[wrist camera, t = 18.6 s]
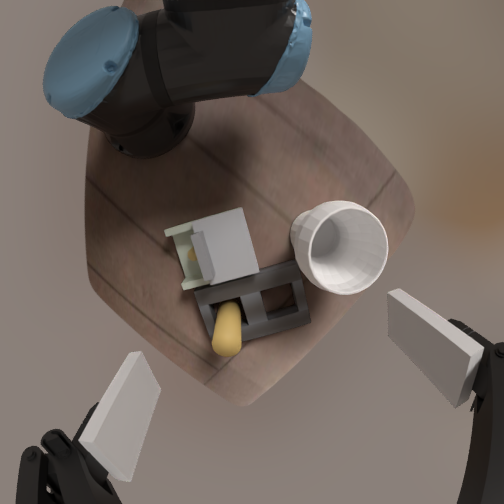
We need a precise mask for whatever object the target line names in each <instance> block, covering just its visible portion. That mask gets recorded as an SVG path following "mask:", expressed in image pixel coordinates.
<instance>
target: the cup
mask: <svg viewBox="0 0 504 504" xmlns="http://www.w3.org/2000/svg"><path fill="white" fill-rule="evenodd" d="M290 239H291V243H292V245H293V248H294V251H295V258H296V261H297V263H298V265H299V268H300V270H301V271H302V272H303V273H304V274H305V276H306V277H307V278H308V279H309V280H310V282H311V283H313V284H314V285H316V286H317V287H318V288H320V289H323V290H326V291H329V292H332V293H336V294H341V295H350V294H354V293H358V292H360V291H362V290H364V289H366V288H368V287H369V286H370V285H371V284H372V283H373V282H374V281H376V279H377V278H378V277H379V275H380V274H381V272H382V271H383V268H384V266H385V263H386V261H387V255H388V239H387V235H386V232H385V229H384V227H383V226H382V224H381V222H380V221H379V219H378V218H377V217H375V216H374V215H373V214H372V213H371V212H370V211H368V210H367V209H365V208H364V207H362V206H360V205H358V204H356V203H354V202H348V201H331V202H325V203H323V204H321V205H318V206H316V207H315V208H313V209H312V210H308V211H306V212H303V213H301V214H300V215H299V216H298V217H297V218H296V219H295V221H294V222H293V224H292V227H291V230H290Z"/></svg>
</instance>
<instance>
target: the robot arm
mask: <svg viewBox="0 0 504 504" xmlns="http://www.w3.org/2000/svg"><path fill="white" fill-rule="evenodd" d="M163 4H164V9H160V10H156V11H153V12H149V13H145V14H142V15H138V16H137V15H135V13H134V12H133V11H131V10H128V9H127V8H125V7H121V8H119V7H118V6H109V7H105V8H101V9H99V10H96V11H94V12H92V13H90V14H89V15H87V16H85V17H84V18H82V19H81V20H80V21H78V22H77V23H76V24H75V25H73V26H72V27H71V28H70V29H69V30H68V31H67V32H66V33H65V35H64V36H63V37H62V38H61V40H60V42H59V43H58V44H57V45H56V47H55V48H54V50H53V52H52V54H51V55H50V57H49V60H48V62H47V65H46V68H45V72H44V78H43V91H44V95H45V97H46V100H47V102H48V103H49V104H50V105H51V106H52V107H53V108H55V109H57V110H58V111H60V112H61V113H63V115H64V116H65V117H67V118H72V119H76V120H78V121H80V122H83V123H85V124H88V125H90V126H92V127H94V128H96V129H99V130H101V131H103V132H104V133H105V135H106V137H107V139H108V141H109V142H110V144H111V145H112V146H113V147H114V148H115V149H116V150H118V151H119V152H121V153H123V154H125V155H128V156H130V157H134V158H142V159H143V158H152V157H156V156H159V155H162V154H164V153H166V152H168V151H169V150H171V149H172V148H174V147H175V146H176V145H177V144H178V143H179V142H180V141H181V140H182V139H183V138H184V137H185V135H186V134H187V132H188V131H189V129H190V127H191V125H192V122H193V119H194V114H195V102H199V101H205V100H212V99H219V98H227V97H235V96H244V95H247V96H248V97H255V96H258V95H260V94H266V93H276V92H283V91H286V90H288V89H289V88H290V87H293V86H294V85H295V84H296V83H297V82H298V80H299V79H300V77H301V76H302V74H303V72H304V70H305V67H306V64H307V61H308V58H309V54H310V49H311V42H312V29H311V28H310V24H311V20H312V18H311V13H310V9H309V7H308V5H307V3H306V2H305V1H304V0H163ZM387 298H388V336H389V337H390V338H391V339H392V341H393V342H395V344H396V345H397V346H398V347H399V348H400V349H401V350H402V351H403V352H404V353H405V354H406V355H407V356H408V357H409V358H410V359H411V360H412V362H413V363H414V364H415V365H416V366H417V367H418V368H419V369H420V370H421V371H422V372H423V373H424V374H425V375H426V376H427V378H429V380H430V381H431V382H432V383H433V384H434V385H435V386H436V387H437V389H438V390H439V391H440V392H441V393H442V394H443V395H444V396H445V397H446V399H447V400H448V401H449V402H450V403H451V404H452V405H453V406H454V408H457V407H458V406H460V405H461V404H463V403H464V402H466V401H467V400H468V399H469V396H470V394H471V391H472V390H473V391H474V392H475V393H476V396H475V399H474V401H473V404H472V406H471V409H470V411H472V410H473V408H474V418H473V427H472V436H471V443H470V449H469V455H468V461H467V466H466V471H465V475H464V479H463V483H462V487H461V491H460V494H459V498H458V501H457V504H504V342H501V343H496V344H495V345H494V344H492V343H491V342H490V341H488V340H487V339H485V338H484V337H482V336H481V335H480V334H478V333H477V332H474V331H473V330H472V329H471V328H468V326H467V325H465V324H464V323H462V322H461V321H457V320H454V319H450V320H448V321H447V320H445V319H444V318H443V317H441V316H440V315H438V314H437V313H435V312H434V311H432V310H431V309H429V308H428V307H426V306H425V305H424V304H422V303H421V302H419V301H417V300H416V299H415V298H413V297H412V296H410V295H408V294H407V293H406V292H404V291H402V290H401V289H399V288H398V289H395V290H393V291H390V292H387ZM160 392H161V388H160V387H159V385H158V383H157V381H156V379H155V377H154V375H153V373H152V371H151V369H150V367H149V365H148V363H147V361H146V359H145V357H144V355H143V353H142V351H137V352H130V353H129V354H128V356H127V358H126V359H125V361H124V363H123V364H122V366H121V367H120V369H119V371H118V372H117V374H116V376H115V378H114V379H113V381H112V382H111V384H110V386H109V387H108V389H107V391H106V392H105V394H104V396H103V397H102V400H101V401H100V402H97V403H96V404H95V405H94V406H93V407H92V408H91V409H90V410H89V412H88V414H87V416H86V418H85V419H84V421H83V424H81V426H80V428H79V429H78V431H77V433H76V435H75V436H74V438H73V440H72V442H71V440H70V439H69V438H68V437H67V436H66V435H65V434H64V432H63V431H62V430H60V429H53V430H50V431H48V432H47V433H46V434H45V435H44V436H43V437H42V439H41V445H42V446H43V447H44V448H45V450H46V451H47V452H48V454H44V453H43V451H42V450H41V449H40V448H39V447H37V446H31V447H28V448H27V449H25V451H24V452H23V454H22V456H21V462H20V468H19V475H18V483H17V493H16V504H122V503H121V501H120V499H119V497H118V496H117V493H116V492H115V490H114V488H113V486H112V484H111V482H110V481H109V480H108V479H107V475H108V473H110V474H111V475H112V476H113V477H114V478H115V479H116V480H121V481H128V482H131V479H132V476H133V473H134V470H135V466H136V464H137V460H138V457H139V454H140V451H141V447H142V445H143V441H144V438H145V435H146V432H147V429H148V426H149V423H150V420H151V417H152V415H153V412H154V409H155V406H156V403H157V400H158V397H159V394H160ZM46 486H48V487H49V488H50V489H51V492H50V493H49V492H48V491H47V490H46V488H47V487H46Z"/></svg>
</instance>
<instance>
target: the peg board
mask: <svg viewBox="0 0 504 504" xmlns="http://www.w3.org/2000/svg"><path fill="white" fill-rule="evenodd" d="M259 271H260V272H258V273H254V274H251V275H247V276H243V277H240V278H236V279H232V280H228V281H225V282H221V283H217V284H213V285H210V284H206V285H202V286H198V287H196V288H195V290H194V295H195V297H196V300H197V303H198V306H199V309H200V312H201V314H202V317H203V320H204V322H205V325H206V328H207V331H208V333H209V336H210V338H211V341H212V340H213V334H214V329H215V323H216V318H217V316H216V313H215V310H214V308H213V305H212V304H213V303H217V302H221V301H225V300H228V299H232V298H236V297H240V298H241V301H242V304H243V307H244V311H245V314H246V317H247V318H245V319H241V342H242V341H246V340H251V339H254V338H258V337H262V336H266V335H270V334H274V333H277V332H281V331H284V330H288V329H291V328H295V327H298V326H302V325H305V324H308V323H311V319H310V314H309V310H308V305H307V300H306V296H305V291H304V287H303V282H302V278H301V274H300V269H299V265H298V263H297V262H296V261H295V260H290V261H287V262H283V263H279V264H276V265H272V266H269V267H265V268H261V269H259ZM287 283H290V284H291V288H292V292H293V296H294V301H295V305H292V306H289V307H285V308H282V309H278V310H275V311H271V312H267V313H266V311H265V307H264V303H263V300H262V296H261V293H260V291H262V290H266V289H270V288H273V287H277V286H280V285H284V284H287Z"/></svg>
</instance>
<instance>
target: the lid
mask: <svg viewBox="0 0 504 504" xmlns="http://www.w3.org/2000/svg"><path fill="white" fill-rule="evenodd" d="M191 223H192V227H193V230H194V233H193V234H192V235H191V240H192V243H193V246H194V250H195V253H196V256H197V259H198V262H199V266H200V269H201V272H202V275H203V278H204V281H208V280H209V282H210V285H213V284H217V283H221V282H225V281H228V280H232V279H236V278H240V277H243V276H247V275H251V274H254V273H258V272H260V271H259V267H258V264H257V260H256V256H255V253H254V249H253V245H252V242H251V238H250V234H249V231H248V227H247V224H246V220H245V216H244V213H243V209H242V207H241V208H238V209H234V210H231V211H227V212H223V213H220V214H216V215H213V216H210V217H206V218H203V219H199V220H196V221H193V222H191Z"/></svg>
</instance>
